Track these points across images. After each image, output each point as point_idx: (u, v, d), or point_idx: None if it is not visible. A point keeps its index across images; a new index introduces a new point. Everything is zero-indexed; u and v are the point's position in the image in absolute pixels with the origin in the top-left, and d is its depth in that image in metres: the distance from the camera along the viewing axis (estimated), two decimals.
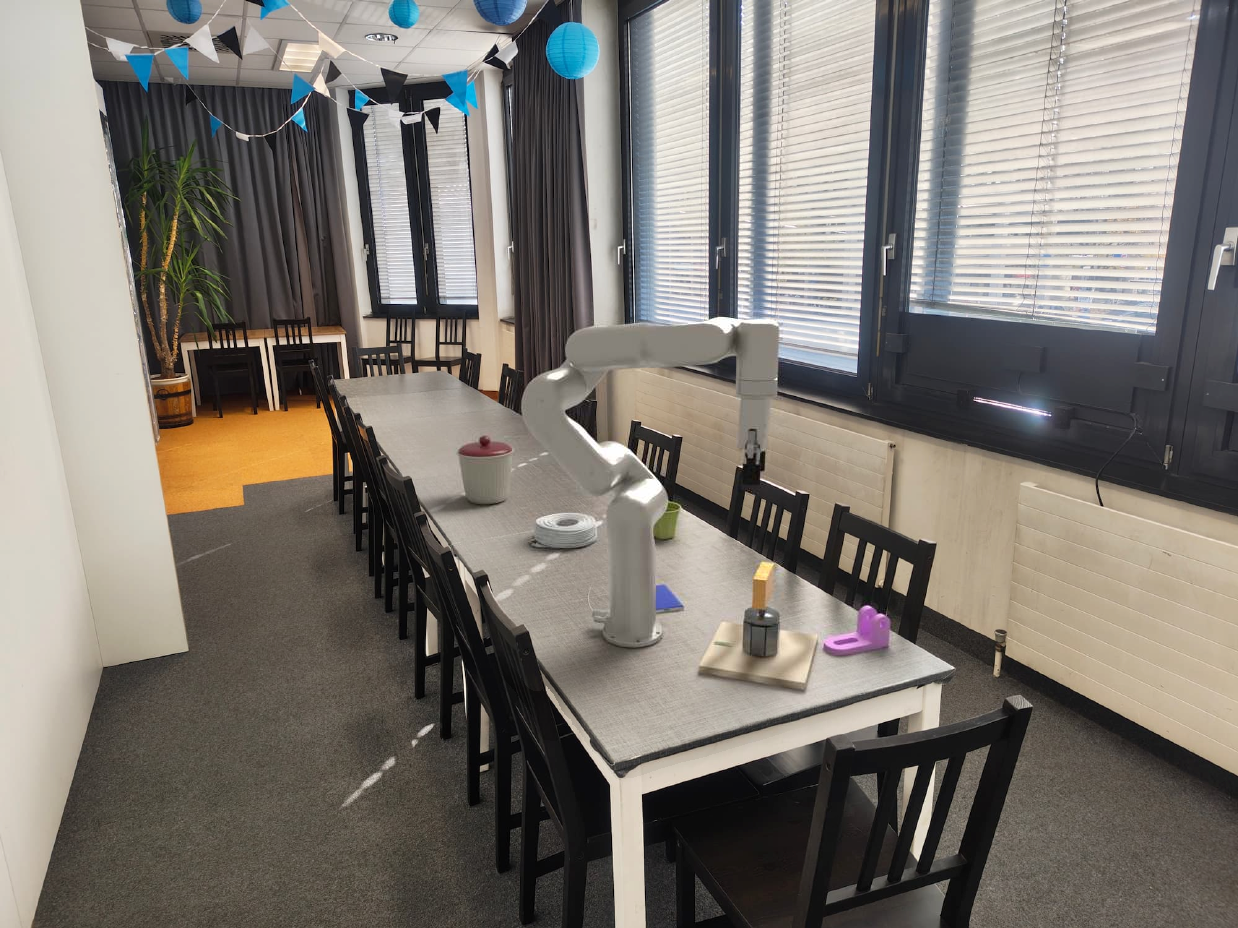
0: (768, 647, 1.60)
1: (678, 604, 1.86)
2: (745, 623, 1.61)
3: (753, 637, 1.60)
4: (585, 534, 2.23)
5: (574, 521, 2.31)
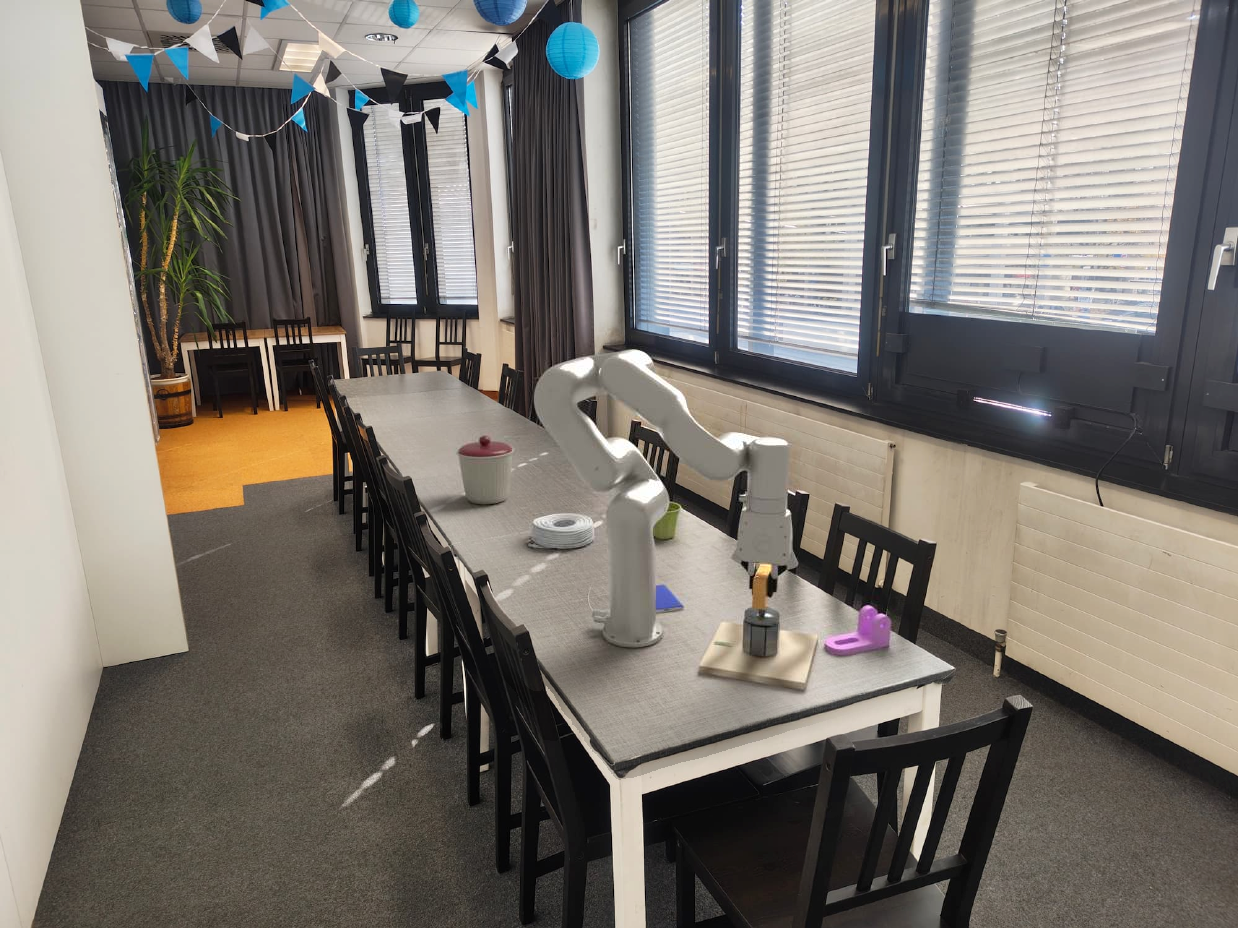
0: (768, 647, 1.60)
1: (678, 604, 1.86)
2: (745, 623, 1.61)
3: (753, 637, 1.60)
4: (582, 535, 2.23)
5: (571, 522, 2.31)
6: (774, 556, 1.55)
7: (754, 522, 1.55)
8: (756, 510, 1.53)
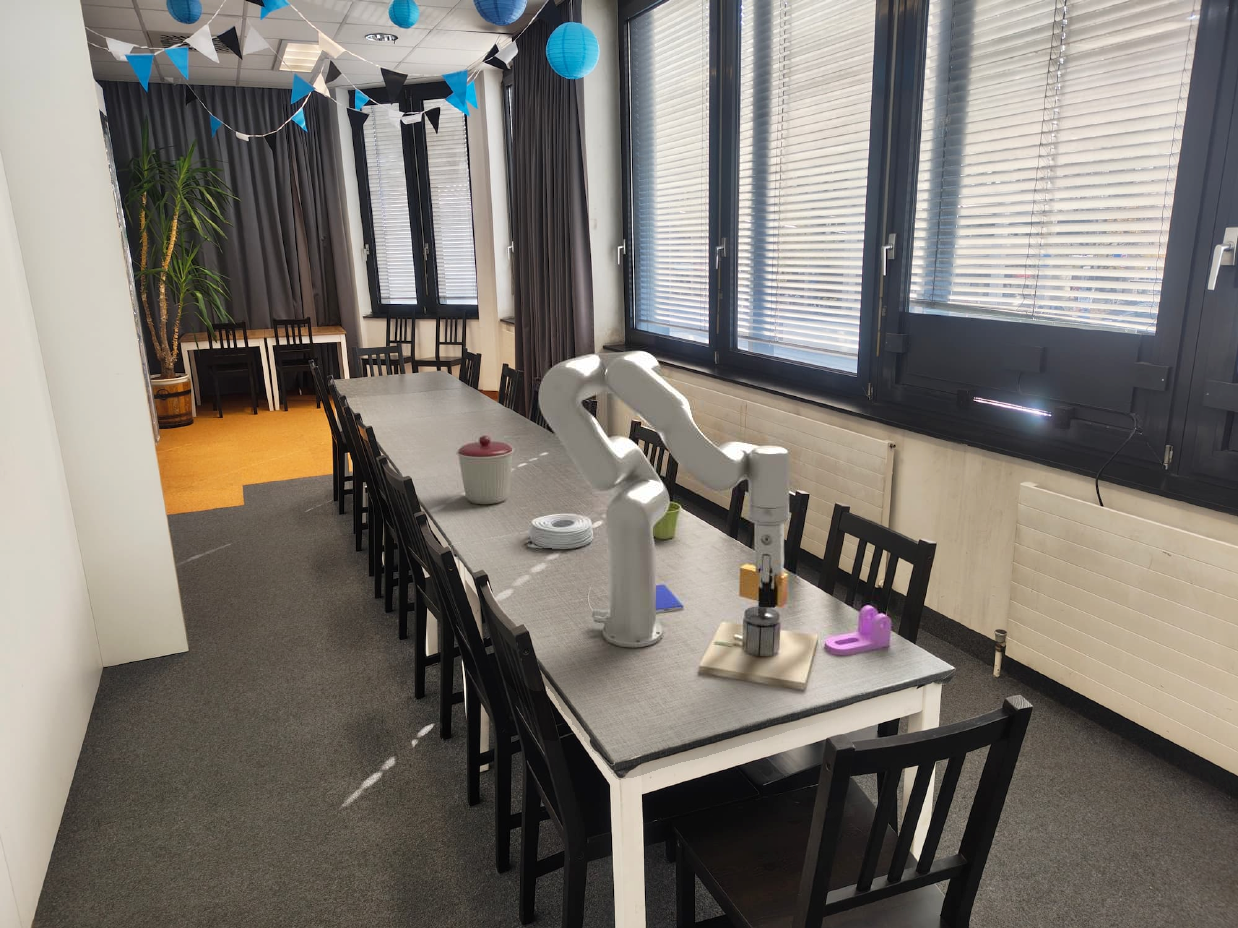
0: None
1: (678, 604, 1.86)
2: (764, 629, 1.59)
3: (775, 637, 1.60)
4: (581, 535, 2.22)
5: (570, 522, 2.31)
6: None
7: (782, 530, 1.55)
8: (787, 516, 1.54)
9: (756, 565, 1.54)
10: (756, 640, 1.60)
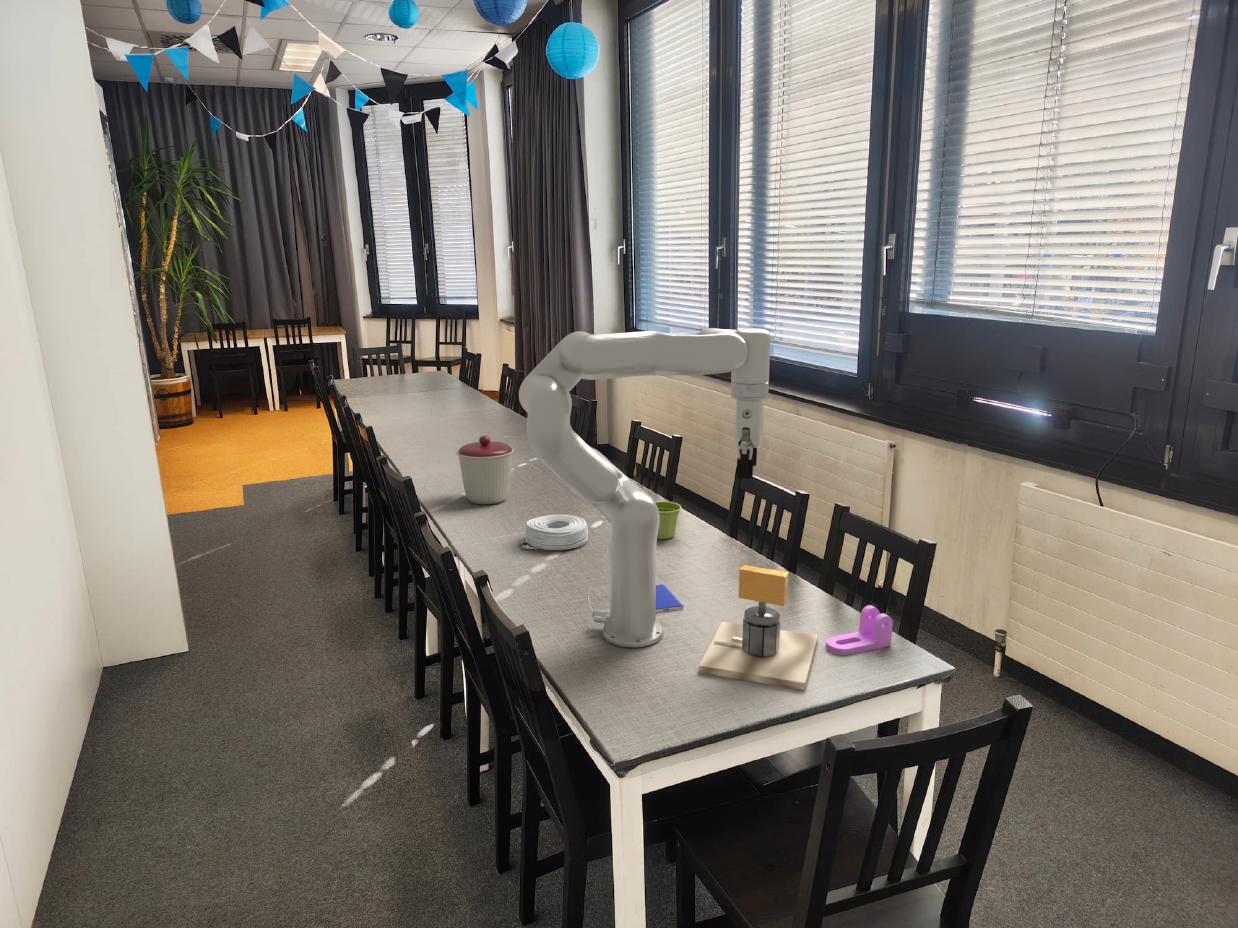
0: None
1: (677, 604, 1.86)
2: (767, 629, 1.59)
3: (777, 635, 1.61)
4: (576, 536, 2.22)
5: (565, 523, 2.30)
6: (762, 433, 1.72)
7: (761, 407, 1.67)
8: (766, 394, 1.66)
9: (736, 438, 1.66)
10: (759, 640, 1.60)
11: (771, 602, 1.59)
